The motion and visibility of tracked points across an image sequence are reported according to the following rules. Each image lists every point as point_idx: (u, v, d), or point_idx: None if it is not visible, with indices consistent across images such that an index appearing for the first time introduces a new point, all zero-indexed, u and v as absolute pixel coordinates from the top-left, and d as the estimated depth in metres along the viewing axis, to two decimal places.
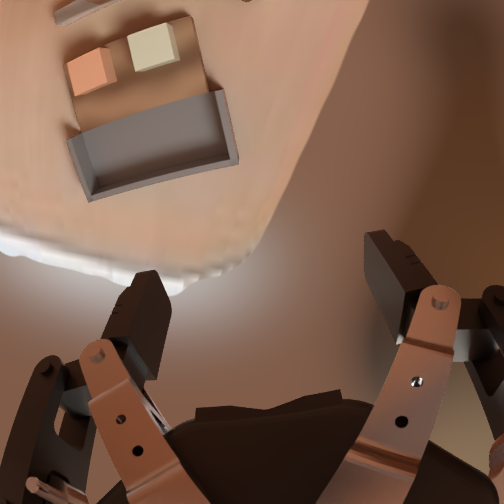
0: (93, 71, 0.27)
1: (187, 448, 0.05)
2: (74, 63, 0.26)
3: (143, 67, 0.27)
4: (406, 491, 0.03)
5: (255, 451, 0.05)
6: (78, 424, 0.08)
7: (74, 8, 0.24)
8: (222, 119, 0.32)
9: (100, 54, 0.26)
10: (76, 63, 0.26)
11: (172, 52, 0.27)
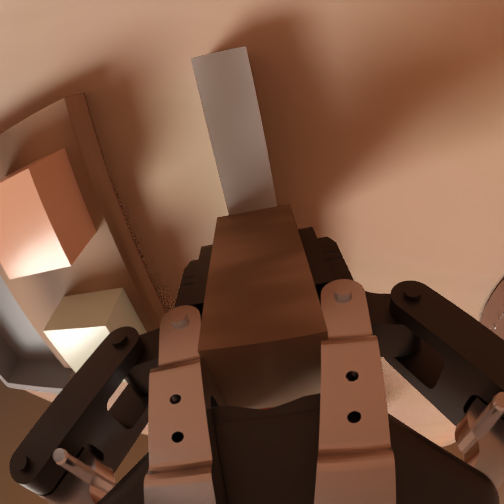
0: (19, 250, 0.11)
1: None
2: (28, 195, 0.10)
3: (54, 343, 0.14)
4: (393, 475, 0.03)
5: (255, 451, 0.05)
6: (138, 400, 0.08)
7: (231, 129, 0.11)
8: (39, 387, 0.20)
9: (56, 267, 0.12)
10: (28, 201, 0.10)
11: None
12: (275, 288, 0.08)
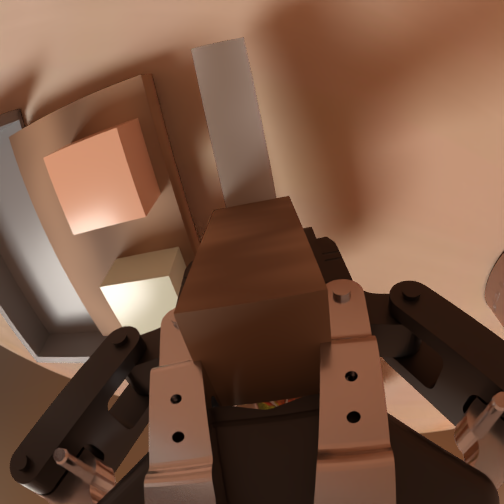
0: (91, 204, 0.14)
1: None
2: (112, 151, 0.13)
3: (108, 299, 0.17)
4: (393, 475, 0.03)
5: (255, 451, 0.05)
6: (138, 400, 0.08)
7: (229, 117, 0.11)
8: (73, 358, 0.23)
9: (129, 219, 0.14)
10: (112, 157, 0.13)
11: None
12: (268, 257, 0.07)
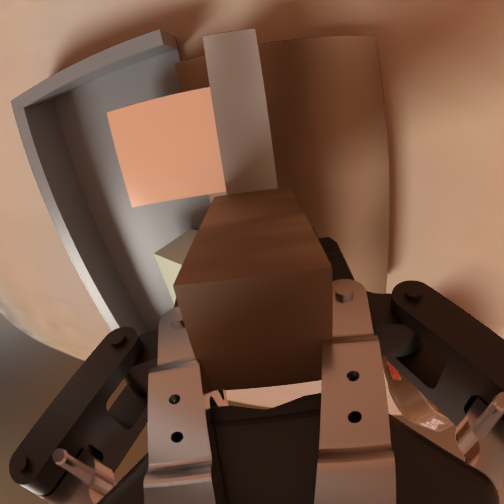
0: (163, 172, 0.13)
1: None
2: (201, 113, 0.11)
3: (160, 267, 0.18)
4: (393, 475, 0.03)
5: (255, 451, 0.05)
6: (137, 400, 0.08)
7: (236, 105, 0.11)
8: None
9: (208, 193, 0.13)
10: (199, 119, 0.12)
11: None
12: (271, 237, 0.07)
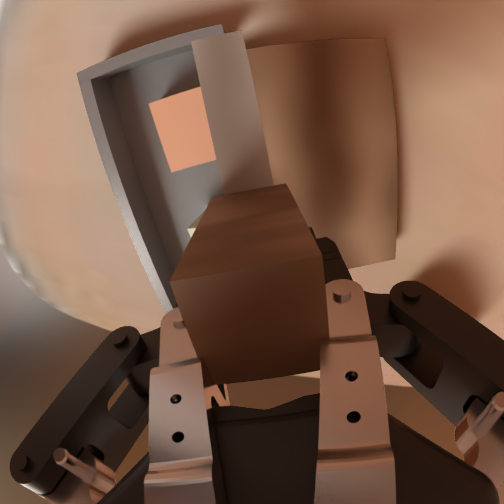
0: (194, 143, 0.17)
1: None
2: None
3: None
4: (392, 474, 0.03)
5: (255, 451, 0.05)
6: (138, 400, 0.08)
7: (227, 106, 0.11)
8: None
9: None
10: None
11: None
12: (264, 231, 0.08)
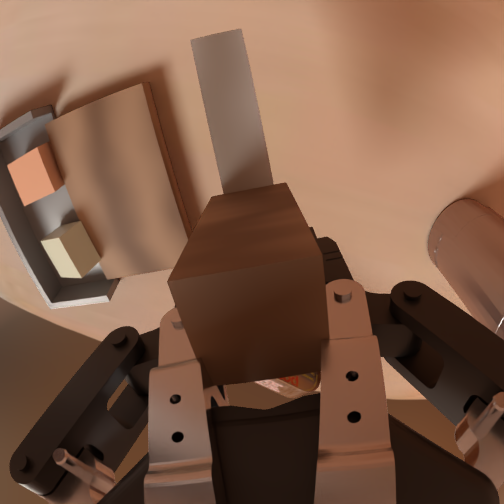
0: (30, 188, 0.23)
1: None
2: (36, 159, 0.22)
3: (45, 249, 0.27)
4: (392, 475, 0.03)
5: (255, 451, 0.05)
6: (138, 400, 0.08)
7: (227, 105, 0.11)
8: (82, 300, 0.30)
9: (48, 194, 0.23)
10: (36, 162, 0.22)
11: (64, 276, 0.28)
12: (264, 231, 0.07)
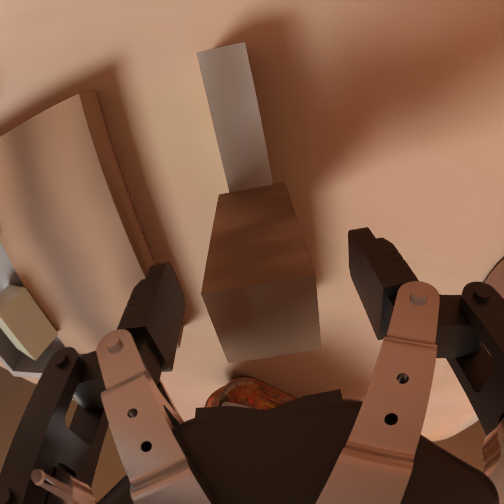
0: None
1: (187, 448, 0.05)
2: None
3: None
4: (404, 487, 0.03)
5: (255, 451, 0.05)
6: (90, 417, 0.08)
7: (232, 115, 0.12)
8: None
9: None
10: None
11: (19, 349, 0.19)
12: (270, 245, 0.10)
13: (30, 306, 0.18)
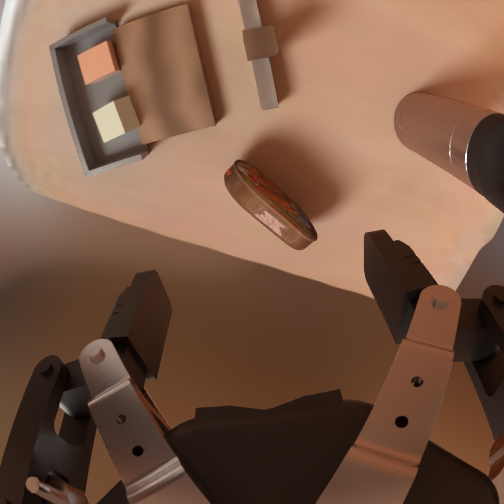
0: (94, 70, 0.30)
1: (187, 448, 0.05)
2: (104, 49, 0.29)
3: (95, 119, 0.34)
4: (406, 492, 0.03)
5: (255, 451, 0.05)
6: (78, 424, 0.08)
7: (248, 11, 0.28)
8: (118, 162, 0.37)
9: (108, 73, 0.31)
10: (104, 51, 0.29)
11: (107, 140, 0.36)
12: None
13: (129, 105, 0.34)
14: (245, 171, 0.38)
